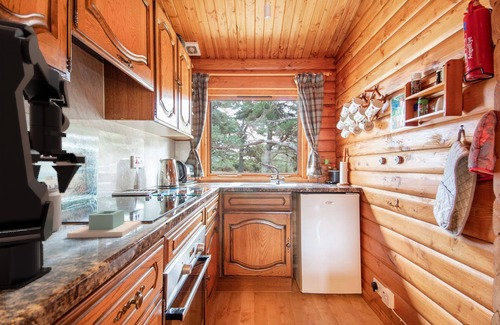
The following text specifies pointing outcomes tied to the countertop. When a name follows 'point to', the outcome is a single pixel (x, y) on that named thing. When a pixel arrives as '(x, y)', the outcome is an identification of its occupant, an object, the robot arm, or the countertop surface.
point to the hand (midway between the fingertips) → (46, 195)
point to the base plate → (104, 231)
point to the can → (55, 208)
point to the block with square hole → (106, 219)
